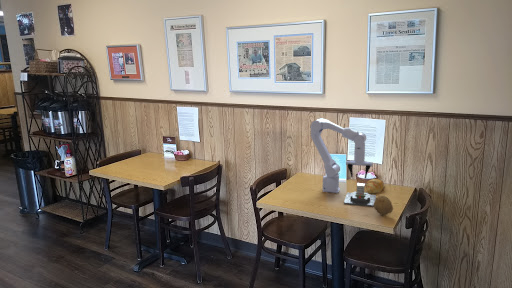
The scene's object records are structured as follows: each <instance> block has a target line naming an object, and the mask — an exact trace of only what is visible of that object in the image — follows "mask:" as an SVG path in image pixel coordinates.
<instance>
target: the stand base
mask: <svg viewBox="0 0 512 288" xmlns="http://www.w3.org/2000/svg"><path fill="white" fill-rule="evenodd" d="M356 194H357V191H353V192H347V193H346V195H345V198H344V202H343V205H350V206H360V207H369V208H374V202H375V200H376V199H377V195H376V194H368V193H366V192H365V196H364V197H361V196H359V197H357V196H356Z"/></svg>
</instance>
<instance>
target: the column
mask: <svg viewBox="0 0 512 288" xmlns="http://www.w3.org/2000/svg"><path fill="white" fill-rule="evenodd" d="M356 192H357V194H356V196H357V197H359V196H361V197H364V196H365V193H366V183H365V182H364V183H363V182H362V183H361V182H357V183H356Z"/></svg>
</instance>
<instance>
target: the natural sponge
mask: <svg viewBox="0 0 512 288" xmlns="http://www.w3.org/2000/svg"><path fill="white" fill-rule="evenodd" d="M373 208H374V210H375V212H377V214H379V215H380V216H386V215H389V214H392V213H393V210H394V206H393V204H392V202H391V200H390V198H389V197H387V196H386V195H380V196H378V197H376V200H375V202H374V207H373Z"/></svg>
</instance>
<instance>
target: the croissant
mask: <svg viewBox="0 0 512 288" xmlns="http://www.w3.org/2000/svg"><path fill="white" fill-rule="evenodd" d="M384 186H385V185H384V181H383V180H381V179H380V178H372V179H370V180H367V182H366V183H365V193H368V194H370V195H374V194H377V193H381V192H382V191H383V190H384Z"/></svg>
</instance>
